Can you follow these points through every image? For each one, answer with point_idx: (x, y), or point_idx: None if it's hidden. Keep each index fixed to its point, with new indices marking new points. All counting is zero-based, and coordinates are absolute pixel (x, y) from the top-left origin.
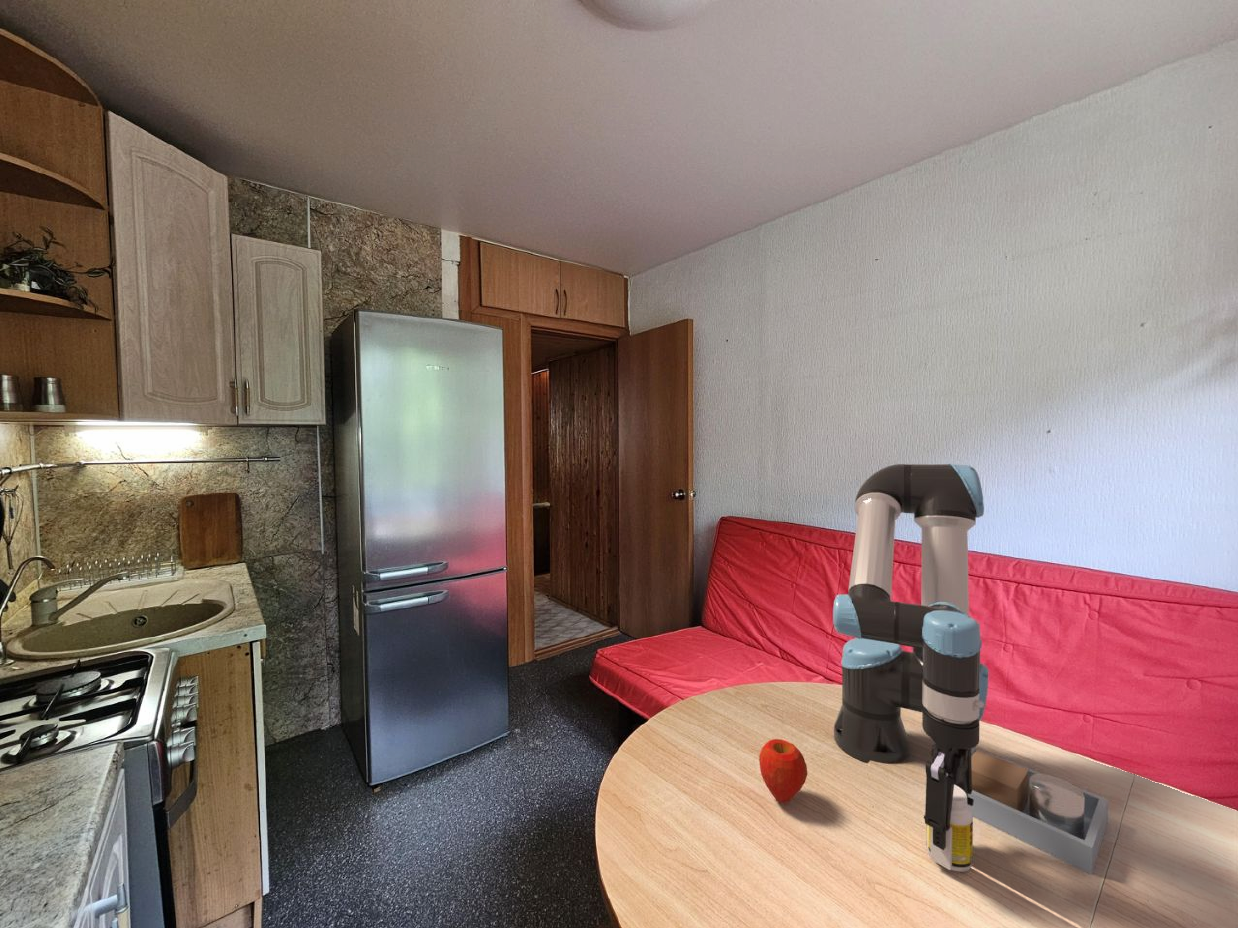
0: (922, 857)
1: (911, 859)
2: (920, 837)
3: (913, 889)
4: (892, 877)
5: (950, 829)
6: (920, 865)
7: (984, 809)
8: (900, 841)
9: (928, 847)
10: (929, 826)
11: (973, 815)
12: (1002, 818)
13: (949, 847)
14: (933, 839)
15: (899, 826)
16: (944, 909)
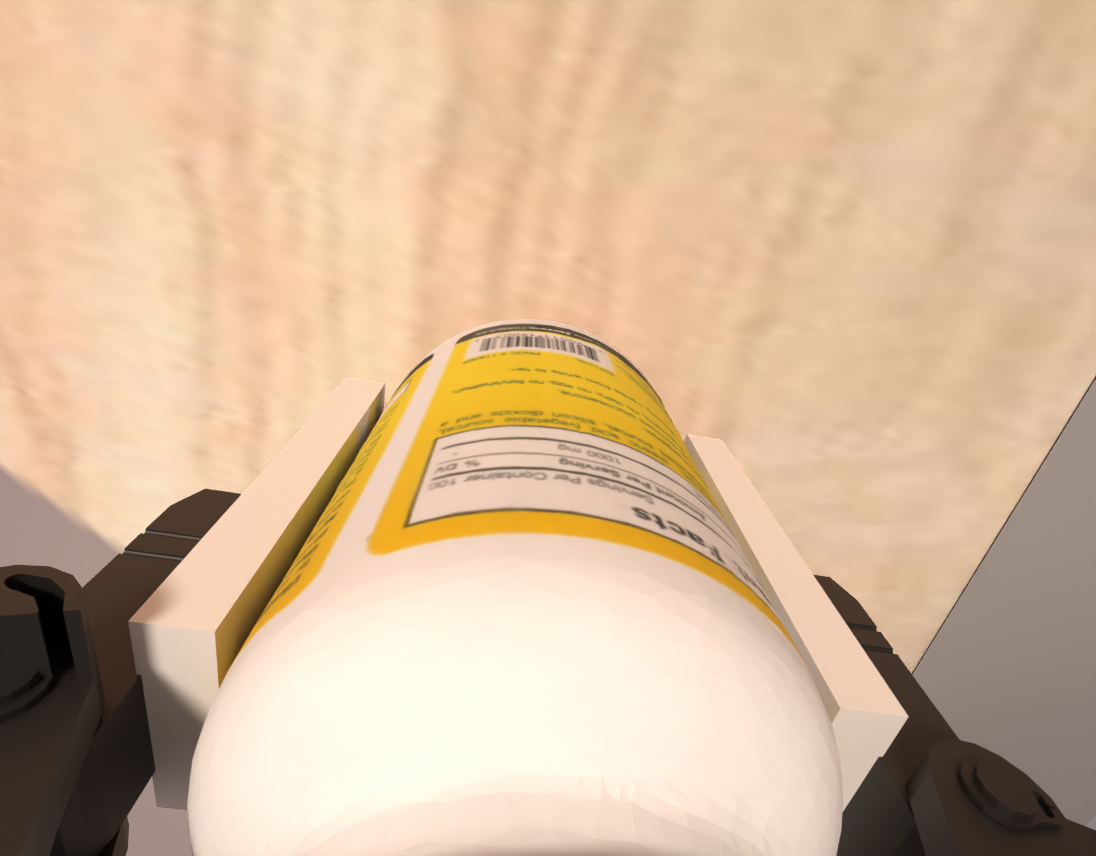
0: (426, 293)
1: (340, 227)
2: (643, 243)
3: (57, 293)
4: (16, 135)
5: (170, 800)
6: (331, 294)
7: (1085, 647)
8: (484, 105)
9: (434, 355)
10: (374, 455)
11: (1047, 533)
12: (1020, 724)
13: None
14: (154, 530)
15: (681, 54)
16: (83, 468)
